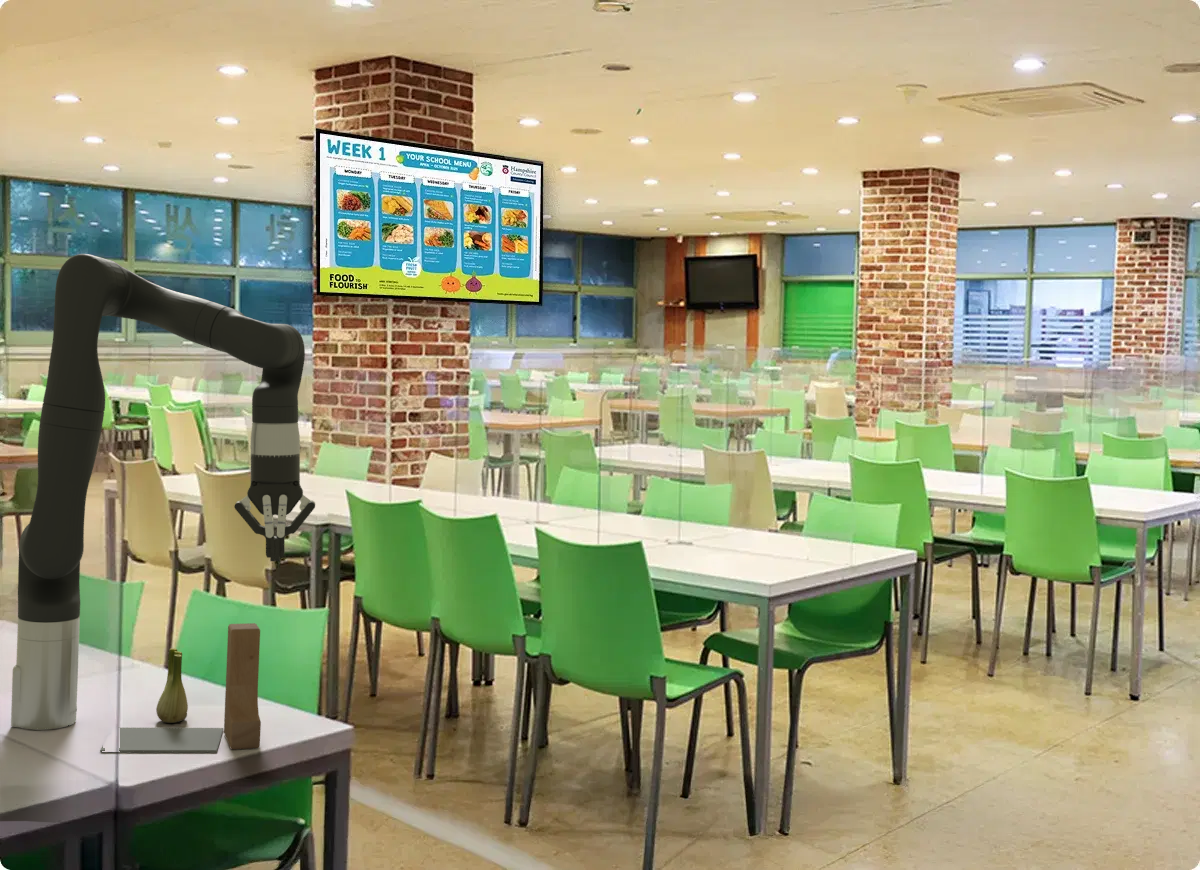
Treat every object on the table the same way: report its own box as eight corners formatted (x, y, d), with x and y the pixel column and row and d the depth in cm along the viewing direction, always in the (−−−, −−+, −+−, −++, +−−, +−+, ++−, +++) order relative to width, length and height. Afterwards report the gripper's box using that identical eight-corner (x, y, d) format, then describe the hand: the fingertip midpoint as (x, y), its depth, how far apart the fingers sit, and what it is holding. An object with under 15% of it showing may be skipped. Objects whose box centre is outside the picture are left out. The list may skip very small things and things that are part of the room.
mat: (100, 752, 203) (100, 750, 203) (113, 729, 215) (113, 727, 215) (216, 752, 206) (216, 750, 206) (223, 730, 218) (223, 727, 218)
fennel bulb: (181, 727, 219) (184, 654, 218) (150, 725, 219) (153, 652, 218) (191, 717, 224) (194, 646, 224) (161, 715, 224) (164, 644, 224)
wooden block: (260, 748, 209) (264, 634, 208) (230, 750, 208) (235, 635, 207) (252, 732, 218) (256, 622, 217) (223, 734, 216) (227, 623, 215)
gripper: (229, 453, 206) (230, 565, 208) (318, 453, 209) (318, 563, 210) (233, 449, 214) (233, 557, 215) (318, 449, 216) (318, 555, 218)
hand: (275, 560), depth 213 cm, fingers closed
